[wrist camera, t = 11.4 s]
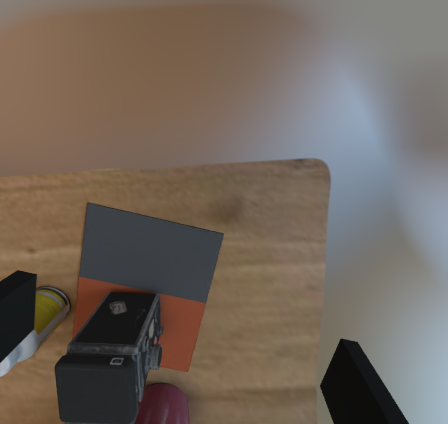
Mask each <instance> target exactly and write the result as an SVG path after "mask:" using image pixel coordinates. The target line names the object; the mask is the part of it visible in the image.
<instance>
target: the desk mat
mask: <svg viewBox="0 0 448 424" xmlns="http://www.w3.org/2000/svg"><path fill="white" fill-rule="evenodd" d="M223 235H224V234H222V233H218V232H214V231H209V230H205V229H201V228H196V227H192V226H188V225H183V224H179V223H175V222H170V221H166V220H162V219H157V218H153V217H149V216H144V215H140V214H136V213H131V212H127V211H122V210H118V209H114V208H109V207H105V206H101V205H96V204H92V203H88V204H87V213H86V222H85V231H84V240H83V249H82V258H81V267H80V275H79V284H78V293H77V302H76V311H75V320H74V329H73V338H74V337H75V335H76V334H77V333H78V331H79V330H80V329H81V327H82V326H83V325H84V323H85V322H86V321H87V319H88V318H89V317H90V315H91V314H92V313H93V312H94V310H95V309H96V308H97V306H98V305H99V304H100V302H101V301H102V300H103V298H104V297H105V296H106V294H107V293H108V292H119V293H141V294H160V296H161V326H163V334H162V335H160V338H159V341H158V344H162V359H161V364H160V367H165V368H170V369H175V370H180V371H186V372H188V370H189V366H190V362H191V358H192V354H193V350H194V347H195V343H196V339H197V335H198V331H199V327H200V323H201V320H202V316H203V312H204V308H205V304H206V300H207V297H208V293H209V289H210V285H211V281H212V277H213V273H214V270H215V266H216V262H217V258H218V254H219V250H220V246H221V243H222V239H223ZM73 338H72V339H73Z"/></svg>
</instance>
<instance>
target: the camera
mask: <svg viewBox="0 0 448 424" xmlns="http://www.w3.org/2000/svg"><path fill="white" fill-rule="evenodd" d="M162 334H163V326H161V296H160V294H141V293H119V292H108V293H107V294H106V296H105V297H104V298H103V300H102V301H101V302H100V304H99V305H98V306H97V308H96V309H95V310H94V312H93V313H92V314H91V315H90V317H89V318H88V319H87V321H86V322H85V323H84V325H83V326H82V327H81V329H80V330H79V331H78V333H77V334H76V335H75V337H74V338H73V339H72V341H71V342H70V343H69V345H68V346H67V352H66V355H64V356H62V357H61V358H60V360H59V361H58V362H57V364H56V365H55V376H56V386H57V395H58V405H59V415H60V419H61V421H63V422H65V424H134V423H135V420H136V417H137V413H138V402H141V399H142V396H143V388H144V385H145V382H146V378H147V375H148V373H149V370H150V369H151V370H158V369H159V367H160V364H161V359H162V344H158V341H159V338H160V335H162Z"/></svg>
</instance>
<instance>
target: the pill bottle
mask: <svg viewBox="0 0 448 424" xmlns="http://www.w3.org/2000/svg"><path fill="white" fill-rule="evenodd" d="M69 309H70V305H69V301H68V299H67V297H66V296H65V295H64V294H63V293H62V292H61V291H59V290H57V289H55V288H51V287H42V288H38V289H36V303H35V326H34V330H33V331H32V332H31V333H30V334H29V335H28V336H27V337H26V338H25V339H24V340H23V341H22V342H21V343H20V344H19V345H18V346H17V347H16V348H15V349H14V350H13V351H12V352H11V353H10V354H9V355H8V356H7V357H6V358H5V359H4V360H3V361H2V362H1V363H0V377H1V376H3V375H5V374H6V373H7V372H8V371H9V370H10V369H11V368H12V367H13V366H14V365H15V364H16V363H17V362H21V361H24V360H26V359H28V358H30V357H31V356H32V355H33V354H34V353H35V352H36V351H37V350H38V349H39V348H40V346H41V345H42V344H43V343H44V342H45V341H46V340H47V338H48V337H49V336H50V335H51V334H52V333H53V331H54V330H55V329H56V328H57V327H58V326H59V325H60V323H61V322H62V321H63V320H64V319H65V318H66V316H67V315H68V313H69Z"/></svg>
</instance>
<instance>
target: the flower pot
mask: <svg viewBox="0 0 448 424" xmlns="http://www.w3.org/2000/svg"><path fill="white" fill-rule="evenodd" d="M134 424H190V422H189V411H188V401H187V398H186V396H185V394H184V393H183V392H182V391H181V390H180V389H179V388H177V387H175V386H173V385H170V384H164V383H159V384H153V385H150V386H148V387H147V388H145V389H144V390H143V396H142V399H141V402H138V413H137V417H136V420H135V423H134Z"/></svg>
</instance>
